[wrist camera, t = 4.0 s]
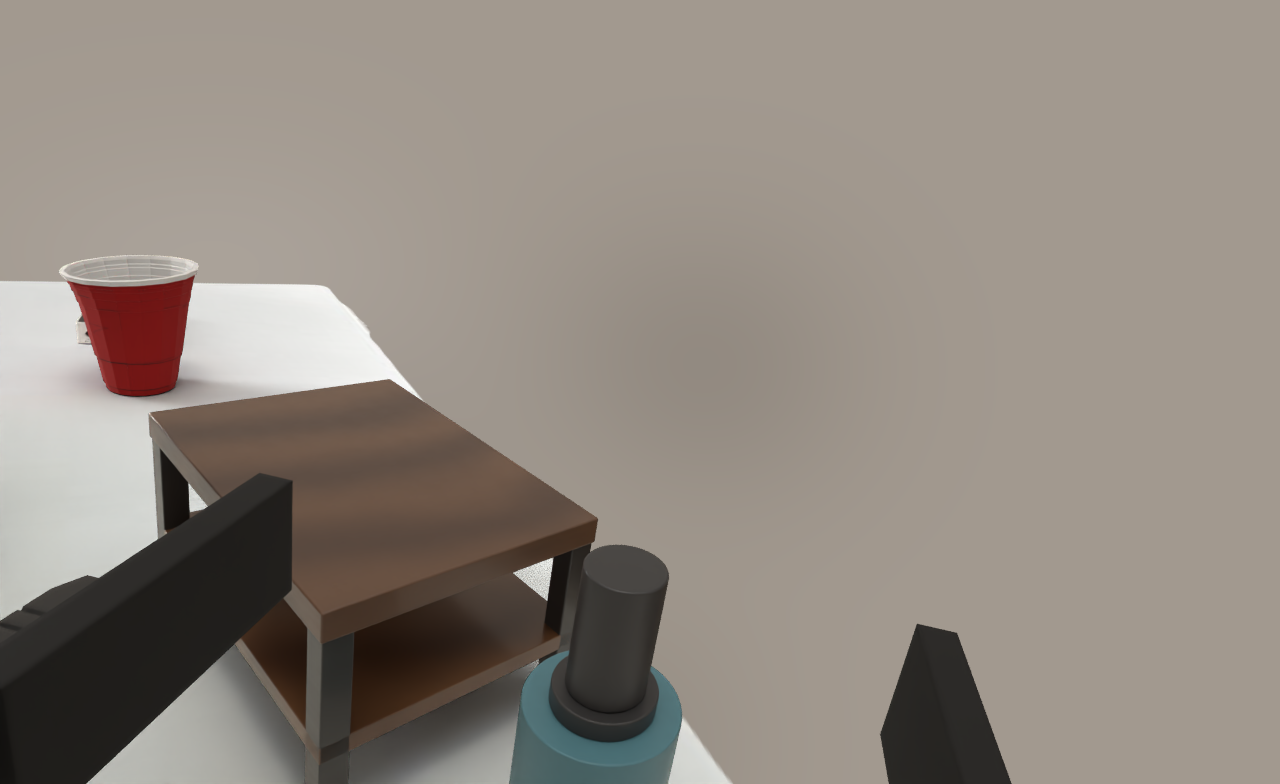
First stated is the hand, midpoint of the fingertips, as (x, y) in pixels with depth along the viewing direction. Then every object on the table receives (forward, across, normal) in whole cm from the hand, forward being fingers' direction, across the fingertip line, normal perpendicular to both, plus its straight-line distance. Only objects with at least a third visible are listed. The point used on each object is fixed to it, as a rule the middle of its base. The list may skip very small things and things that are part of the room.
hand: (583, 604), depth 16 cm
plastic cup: (+49, -53, -23) cm, 76 cm away
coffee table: (+23, -16, -23) cm, 36 cm away
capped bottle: (+10, 0, -23) cm, 25 cm away
